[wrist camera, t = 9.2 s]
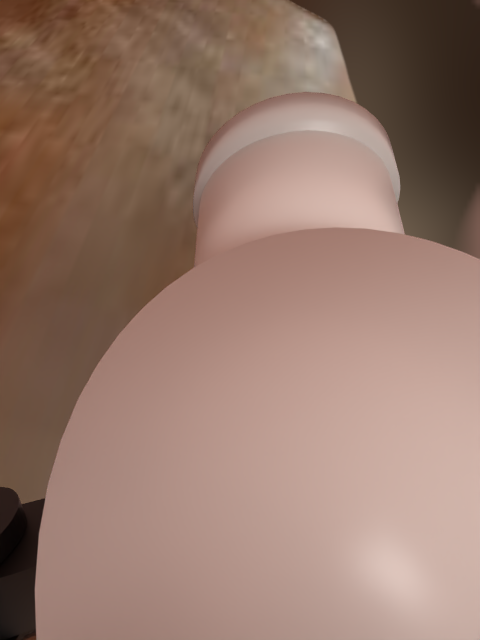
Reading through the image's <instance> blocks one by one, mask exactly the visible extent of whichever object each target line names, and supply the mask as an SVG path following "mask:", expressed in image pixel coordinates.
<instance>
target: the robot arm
mask: <svg viewBox="0 0 480 640" xmlns="http://www.w3.org/2000/svg"><path fill="white" fill-rule="evenodd" d="M44 503H45V499H41V500H37V501H33V502H29V503H25V504H21V502H20V500H19V497H18V495H17V493H16V492H15V491H14V490H12V489H10V488H5V487H0V640H36V613H35V580H36V566H37V553H38V539H39V531H40V525H41V520H42V514H43V509H44Z"/></svg>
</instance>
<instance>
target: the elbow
mask: <svg viewBox="0 0 480 640" xmlns="http://www.w3.org/2000/svg"><path fill="white" fill-rule="evenodd" d="M399 193H400V178H399V174H398V170H397V166H396V162H395V158H394V154H393V151H392V147H391V143H390V140H389V137H388V136H387V133H386V131H385V129H384V128H383V126H382V125H381V124H380V122H379V121H378V120H377V119H376V118H375V117H374V116H373V115H372V114H371V113H370V112H368V111H367V110H366V109H365V108H363V107H361V106H360V105H358V104H356V103H354V102H353V101H350V100H347V99H345V98H342V97H339V96H335V95H330V94H325V93H311V92H302V93H292V94H285V95H281V96H277V97H273V98H269V99H267V100H264V101H261V102H259V103H256V104H254V105H252V106H250V107H248V108H247V109H245V110H243V111H241V112H239V113H238V114H237V115H235V116H234V117H233V118H231V119H230V120H229V121H227V122H226V123H225V124H224V125H223V126H222V127H221V128H220V129H219V130H218V131H217V132H216V133H215V135H214V136H213V137H212V139H211V140H210V141H209V142H208V144H207V146H206V148H205V150H204V151H203V153H202V156H201V158H200V161H199V164H198V168H197V173H196V180H195V190H194V199H193V214H194V220H195V223H196V226H197V240H196V251H195V262H194V268H193V269H191V270H190V271H188V272H187V273H185V274H184V275H183V276H181V277H180V278H178V279H177V280H175V281H174V282H173V283H171V284H170V285H168V286H167V287H166V288H165V289H163V290H162V291H161V292H160V293H159V294H158V295H157V296H156V297H154V298H153V299H152V300H151V301H150V302H149V303H148V304H147V305H146V306H144V307H143V308H142V309H141V310H140V311H139V312H138V314H137V315H136V316H135V317H134V318H133V319H132V320H131V321H130V323H129V324H128V325H127V326H126V327H125V328H124V329H123V330H122V331H121V333H120V334H119V335H118V336H117V338H116V339H115V340H114V342H113V343H112V345H111V346H110V348H109V349H108V350H107V352H106V353H105V355H104V356H103V357H102V359H101V360H100V362H99V363H98V364H97V366H96V368H95V370H94V371H93V373H92V375H91V377H90V379H89V381H88V382H87V384H86V386H85V388H84V390H83V391H82V393H81V395H80V397H79V399H78V401H77V403H76V405H75V408H74V410H73V413H72V415H71V417H70V420H69V422H68V424H67V427H66V429H65V432H64V434H63V436H62V439H61V442H60V445H59V449H58V452H57V455H56V459H55V462H54V466H53V469H52V472H51V476H50V479H49V483H48V487H47V492H46V498H45V503H44V509H43V514H42V520H41V525H40V531H39V539H38V553H37V566H36V580H35V613H36V640H480V259H478V258H475V257H473V256H471V255H468V254H466V253H464V252H461V251H459V250H455V249H452V248H450V247H447V246H444V245H441V244H438V243H435V242H432V241H429V240H425V239H421V238H417V237H412V236H408V235H405V234H404V230H403V226H402V221H401V218H400V213H399V210H398V205H397V202H398V199H399Z"/></svg>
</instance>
